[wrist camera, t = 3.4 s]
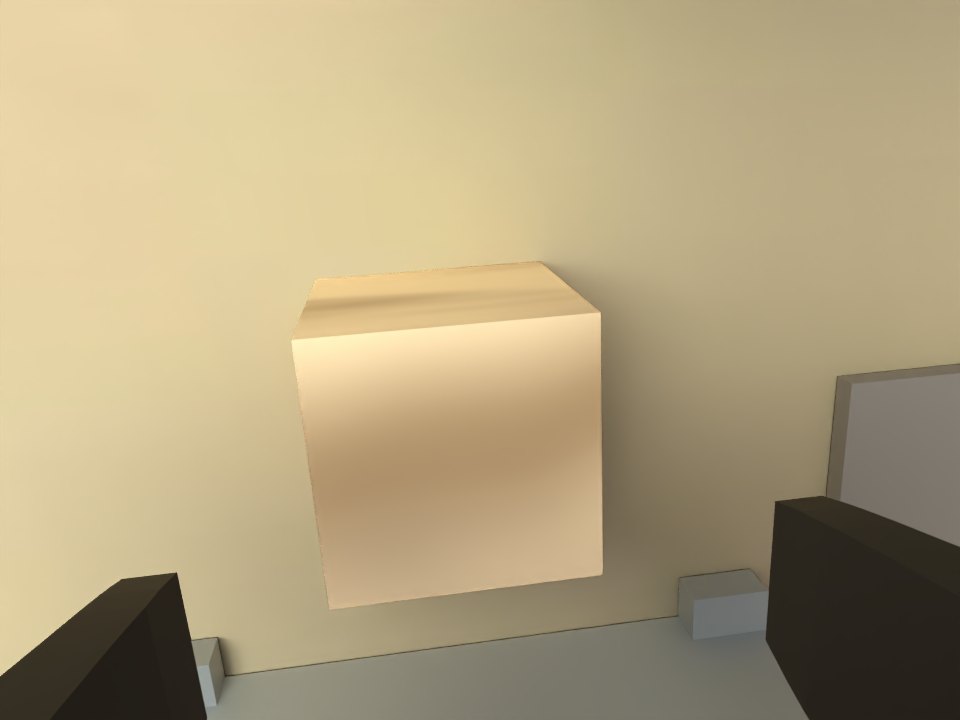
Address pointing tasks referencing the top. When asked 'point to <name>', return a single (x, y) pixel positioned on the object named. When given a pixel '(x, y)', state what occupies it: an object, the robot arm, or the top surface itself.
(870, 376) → the mat
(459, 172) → the top surface
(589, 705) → the light grey drawer handle
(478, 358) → the wooden letter cube
